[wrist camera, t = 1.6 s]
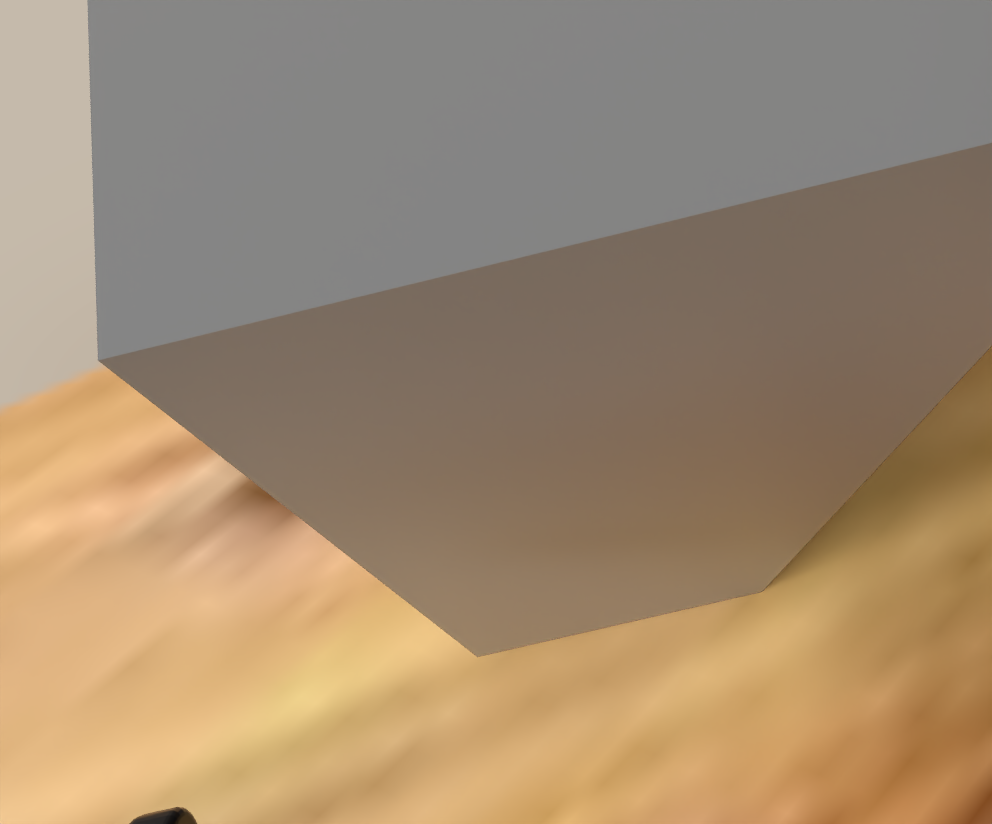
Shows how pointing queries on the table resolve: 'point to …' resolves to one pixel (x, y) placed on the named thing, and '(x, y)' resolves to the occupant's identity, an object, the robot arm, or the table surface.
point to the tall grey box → (546, 274)
